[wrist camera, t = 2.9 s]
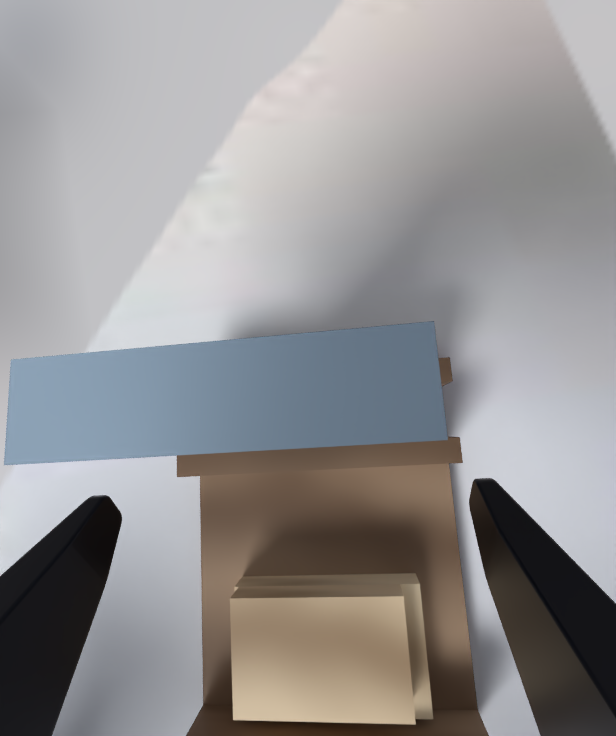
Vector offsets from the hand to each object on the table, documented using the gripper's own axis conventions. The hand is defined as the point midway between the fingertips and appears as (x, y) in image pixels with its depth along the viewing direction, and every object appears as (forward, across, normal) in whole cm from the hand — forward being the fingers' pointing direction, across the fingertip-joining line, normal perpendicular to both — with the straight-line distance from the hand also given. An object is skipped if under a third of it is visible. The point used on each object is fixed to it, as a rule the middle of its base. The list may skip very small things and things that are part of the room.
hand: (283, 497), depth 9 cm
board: (+8, 0, +5) cm, 10 cm away
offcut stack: (+1, 0, +12) cm, 12 cm away
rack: (+5, 0, +9) cm, 10 cm away
